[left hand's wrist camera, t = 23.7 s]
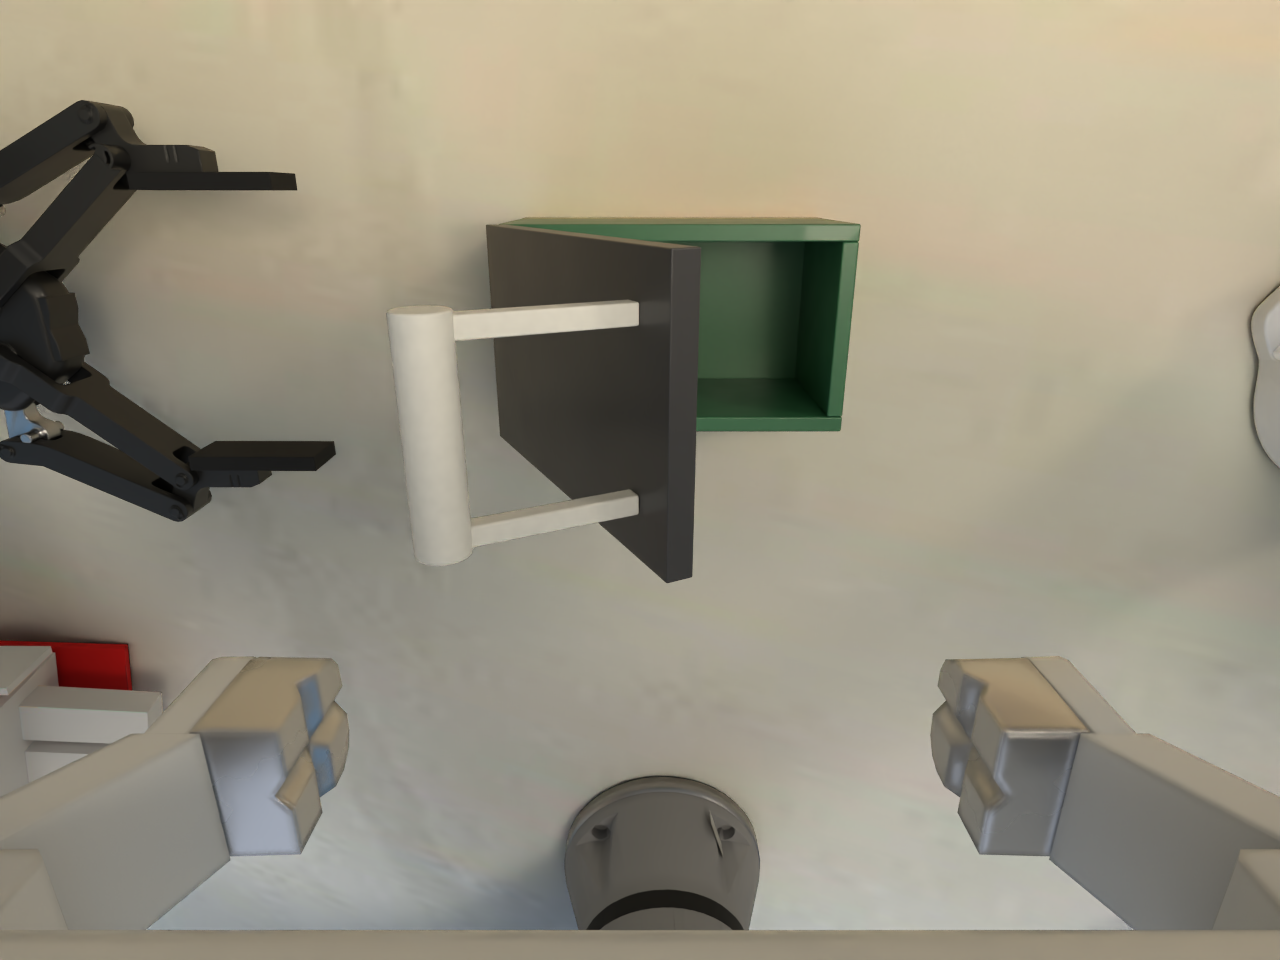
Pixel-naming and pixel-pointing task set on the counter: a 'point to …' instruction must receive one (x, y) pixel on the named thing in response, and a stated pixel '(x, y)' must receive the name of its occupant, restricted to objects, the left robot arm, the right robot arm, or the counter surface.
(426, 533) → the lid
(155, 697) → the toy
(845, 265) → the chest
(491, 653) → the counter surface
